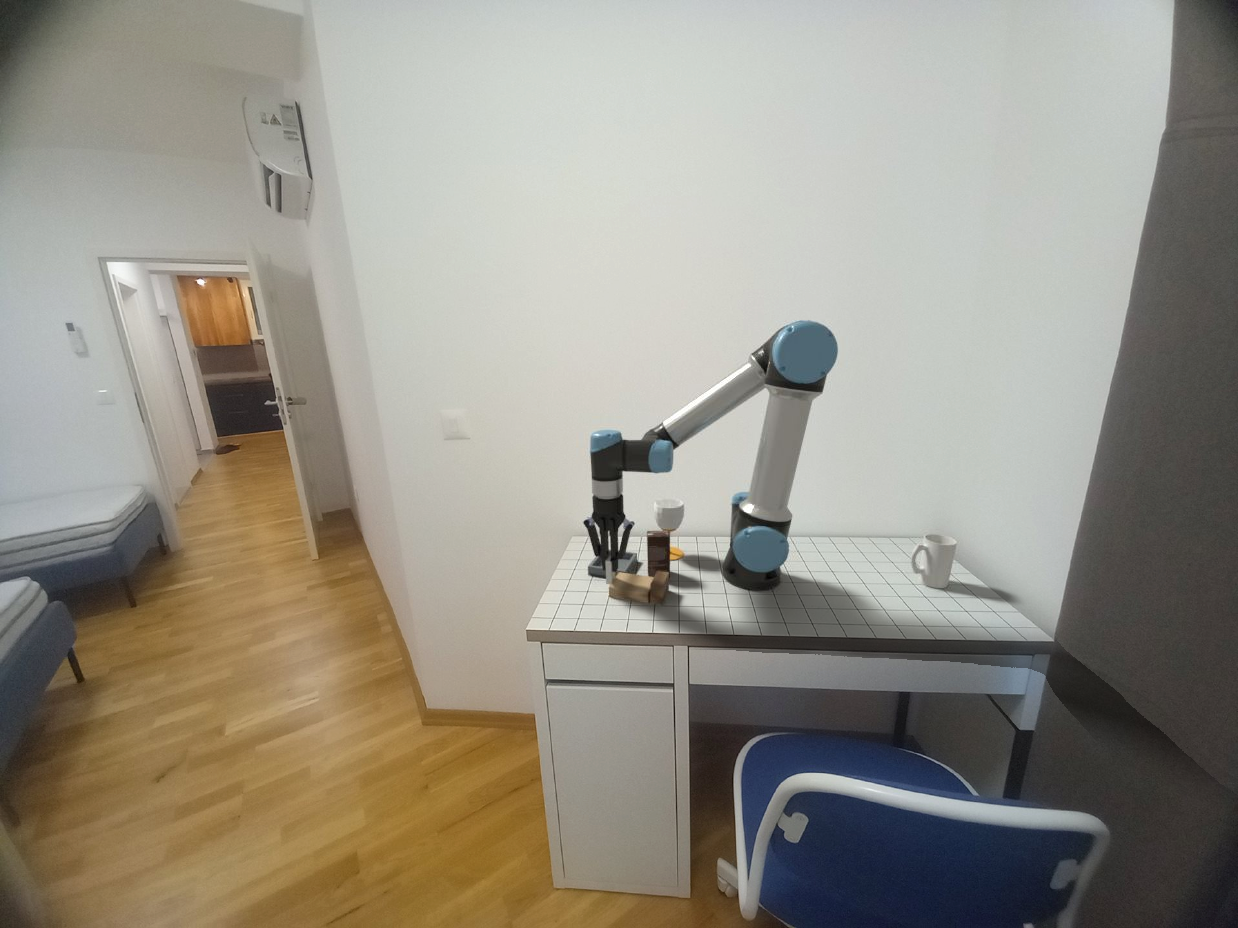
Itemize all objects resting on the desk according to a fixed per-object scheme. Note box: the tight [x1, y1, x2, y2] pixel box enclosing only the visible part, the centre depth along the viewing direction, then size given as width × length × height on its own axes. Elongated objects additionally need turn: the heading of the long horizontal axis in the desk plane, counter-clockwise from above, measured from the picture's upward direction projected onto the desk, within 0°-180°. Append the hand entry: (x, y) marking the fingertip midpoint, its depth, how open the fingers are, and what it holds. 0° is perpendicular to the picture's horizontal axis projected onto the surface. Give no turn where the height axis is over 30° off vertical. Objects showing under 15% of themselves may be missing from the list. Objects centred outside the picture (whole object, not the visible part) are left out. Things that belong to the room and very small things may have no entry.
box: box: [646, 530, 671, 578], centre depth 120 cm, size 6×4×12 cm
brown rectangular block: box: [649, 571, 670, 606], centre depth 110 cm, size 3×7×5 cm, turn 162°
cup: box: [653, 497, 685, 561], centre depth 132 cm, size 9×9×16 cm
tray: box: [587, 549, 638, 578], centre depth 125 cm, size 11×12×2 cm
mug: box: [910, 533, 958, 589], centre depth 113 cm, size 10×7×12 cm, turn 91°
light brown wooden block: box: [608, 572, 654, 604], centre depth 113 cm, size 10×8×3 cm
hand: (610, 581), depth 114 cm, fingers closed
